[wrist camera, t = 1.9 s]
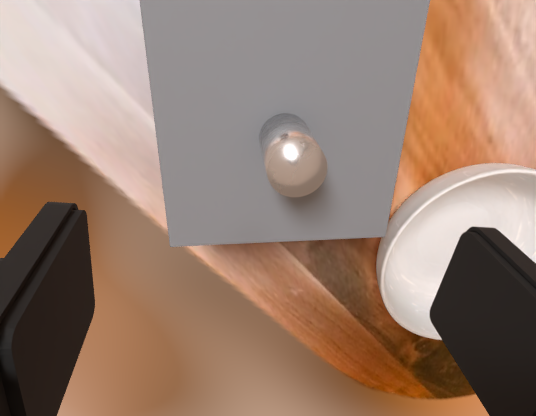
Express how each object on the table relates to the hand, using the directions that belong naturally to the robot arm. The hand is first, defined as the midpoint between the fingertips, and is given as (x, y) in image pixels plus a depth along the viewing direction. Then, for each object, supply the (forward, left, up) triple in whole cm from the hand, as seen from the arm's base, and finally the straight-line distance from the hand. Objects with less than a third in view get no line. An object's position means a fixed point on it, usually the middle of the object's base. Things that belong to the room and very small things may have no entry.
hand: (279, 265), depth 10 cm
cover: (-3, +4, -29) cm, 29 cm away
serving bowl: (-24, +19, -29) cm, 42 cm away
